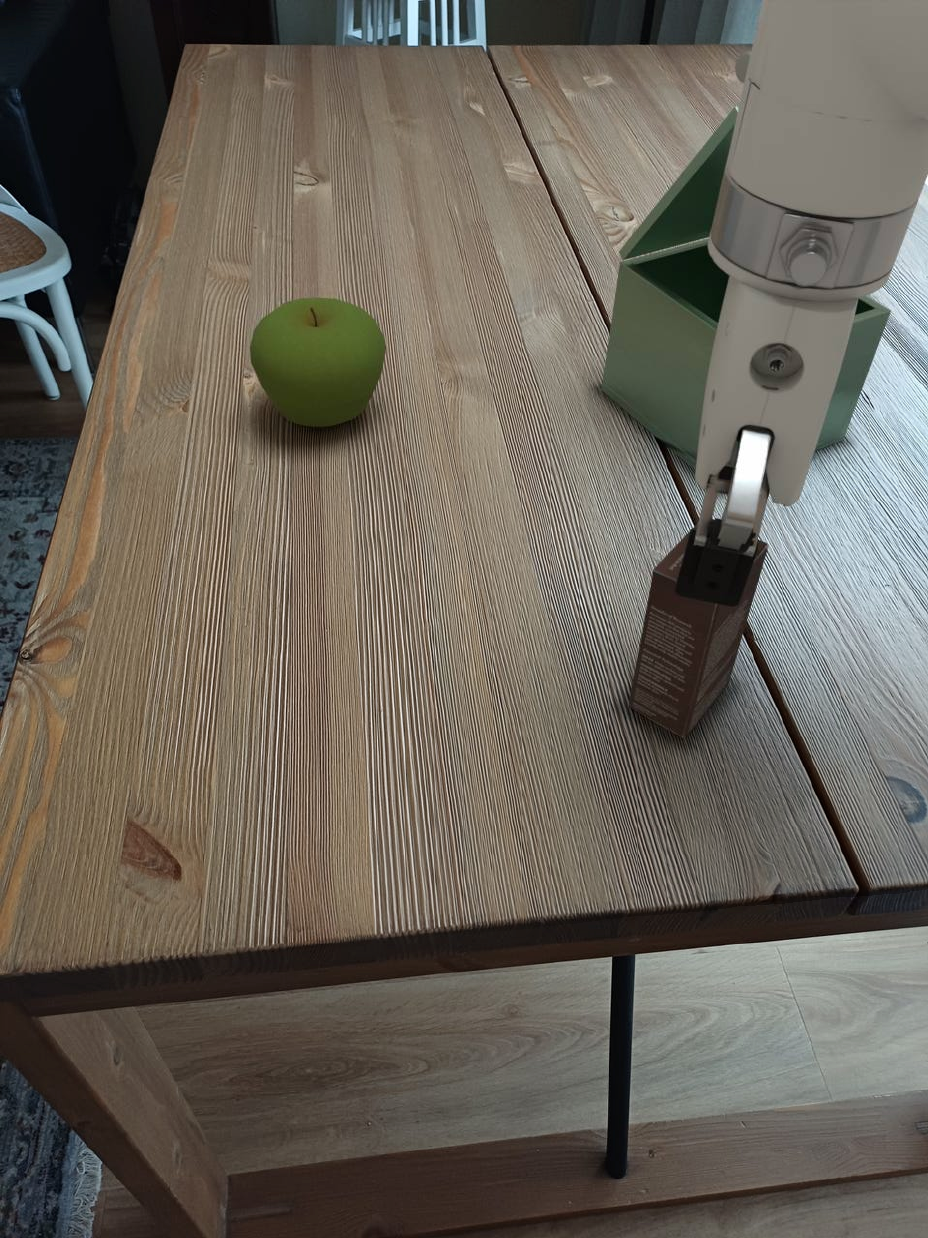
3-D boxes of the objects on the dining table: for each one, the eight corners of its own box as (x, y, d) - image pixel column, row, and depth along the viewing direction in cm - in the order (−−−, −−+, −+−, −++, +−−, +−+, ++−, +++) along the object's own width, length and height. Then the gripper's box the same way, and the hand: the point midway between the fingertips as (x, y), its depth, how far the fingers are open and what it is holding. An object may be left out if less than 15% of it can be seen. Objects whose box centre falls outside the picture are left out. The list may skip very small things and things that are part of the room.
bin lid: (893, 83, 66) (859, 14, 67) (740, 116, 61) (704, 41, 62) (754, 225, 81) (727, 168, 82) (622, 260, 77) (594, 199, 77)
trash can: (843, 440, 81) (891, 310, 73) (716, 489, 76) (752, 356, 68) (721, 351, 90) (751, 226, 82) (601, 390, 85) (619, 261, 77)
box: (668, 651, 64) (705, 511, 56) (729, 684, 63) (777, 545, 54) (619, 706, 61) (650, 566, 52) (682, 743, 59) (725, 605, 51)
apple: (298, 470, 77) (284, 359, 70) (237, 407, 82) (218, 297, 75) (413, 425, 81) (411, 315, 74) (347, 367, 87) (339, 261, 80)
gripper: (912, 347, 34) (778, 669, 46) (895, 154, 45) (791, 453, 58) (693, 311, 35) (620, 634, 47) (731, 132, 46) (664, 430, 59)
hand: (714, 535), depth 52 cm, fingers open, 9 cm apart
